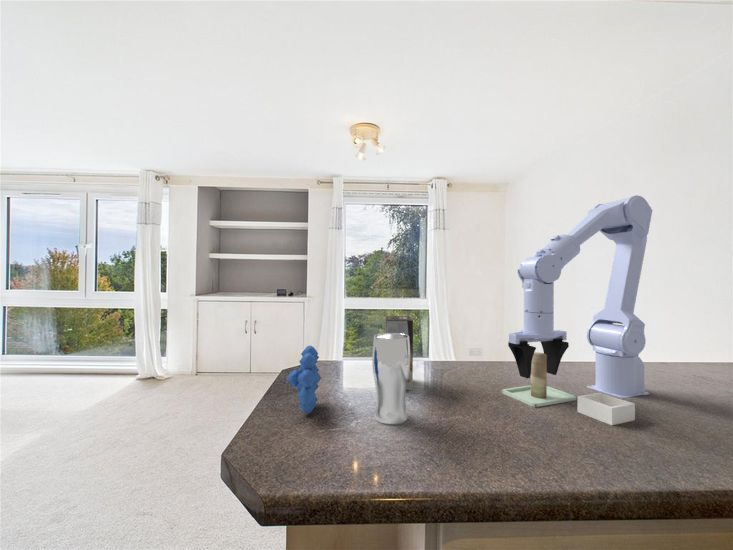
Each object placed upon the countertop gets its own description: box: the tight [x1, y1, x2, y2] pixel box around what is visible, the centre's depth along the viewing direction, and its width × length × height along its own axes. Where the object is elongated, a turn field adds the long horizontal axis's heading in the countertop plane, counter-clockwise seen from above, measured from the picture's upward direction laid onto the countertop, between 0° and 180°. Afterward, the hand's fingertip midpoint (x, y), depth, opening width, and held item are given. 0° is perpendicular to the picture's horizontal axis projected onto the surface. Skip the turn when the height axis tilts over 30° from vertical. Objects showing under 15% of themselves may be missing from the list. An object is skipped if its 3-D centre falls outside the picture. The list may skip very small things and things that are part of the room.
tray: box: [500, 384, 578, 408], centre depth 71 cm, size 12×9×1 cm
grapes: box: [286, 345, 322, 414], centre depth 64 cm, size 12×7×12 cm, turn 5°
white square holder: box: [576, 392, 636, 426], centre depth 61 cm, size 6×6×4 cm
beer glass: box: [371, 332, 410, 426], centre depth 61 cm, size 7×7×15 cm
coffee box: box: [384, 315, 414, 391], centre depth 80 cm, size 9×6×16 cm
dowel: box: [530, 351, 548, 399], centre depth 71 cm, size 3×3×9 cm
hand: (538, 375), depth 71 cm, fingers open, 7 cm apart
